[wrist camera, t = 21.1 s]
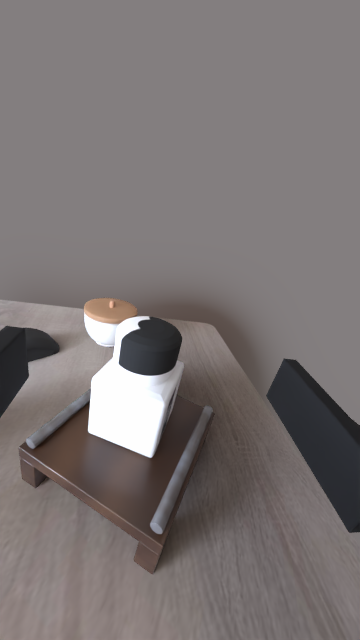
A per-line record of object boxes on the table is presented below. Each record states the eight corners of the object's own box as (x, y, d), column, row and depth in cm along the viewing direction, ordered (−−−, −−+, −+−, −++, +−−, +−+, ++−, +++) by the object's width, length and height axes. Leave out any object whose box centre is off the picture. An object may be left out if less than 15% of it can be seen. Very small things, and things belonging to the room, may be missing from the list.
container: (172, 408, 31) (196, 323, 26) (152, 460, 24) (178, 358, 19) (120, 389, 32) (132, 303, 27) (86, 433, 26) (93, 329, 20)
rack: (205, 437, 34) (217, 406, 32) (152, 575, 20) (165, 539, 18) (115, 391, 39) (119, 360, 36) (21, 478, 25) (17, 438, 22)
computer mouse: (-24, 353, 40) (-27, 333, 38) (47, 336, 48) (46, 319, 46) (-12, 373, 36) (-16, 352, 35) (62, 352, 45) (62, 334, 43)
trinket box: (132, 355, 49) (138, 314, 45) (77, 350, 46) (79, 307, 42) (133, 330, 58) (138, 294, 54) (87, 325, 56) (89, 287, 52)
